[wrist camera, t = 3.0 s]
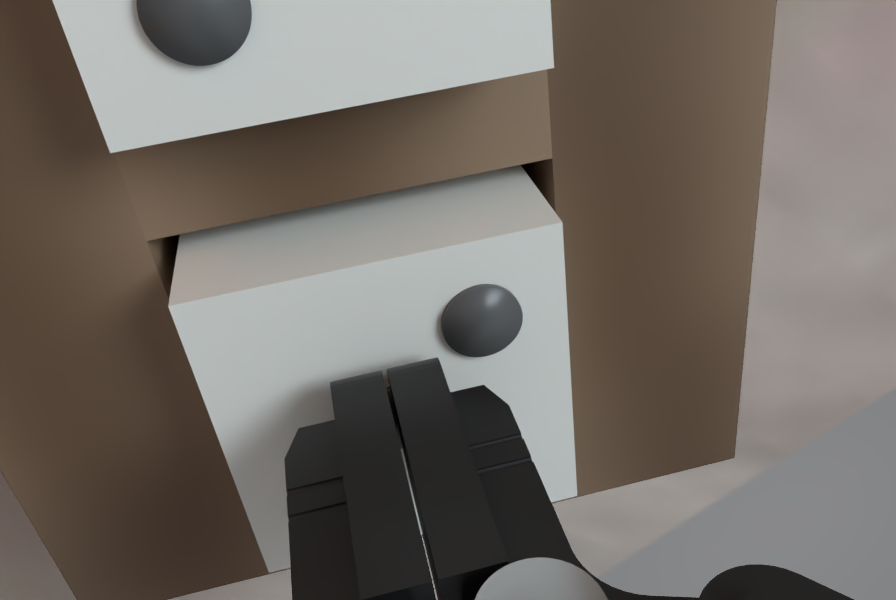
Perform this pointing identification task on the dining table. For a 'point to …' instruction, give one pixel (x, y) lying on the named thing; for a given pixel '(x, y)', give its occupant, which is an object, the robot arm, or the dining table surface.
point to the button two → (285, 57)
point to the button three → (376, 320)
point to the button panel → (348, 177)
